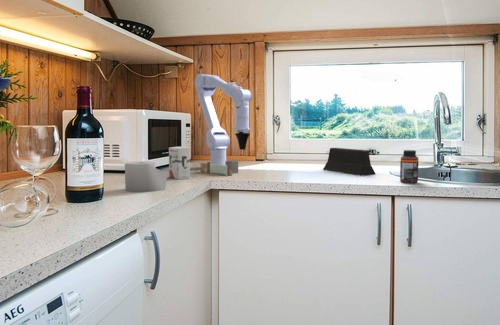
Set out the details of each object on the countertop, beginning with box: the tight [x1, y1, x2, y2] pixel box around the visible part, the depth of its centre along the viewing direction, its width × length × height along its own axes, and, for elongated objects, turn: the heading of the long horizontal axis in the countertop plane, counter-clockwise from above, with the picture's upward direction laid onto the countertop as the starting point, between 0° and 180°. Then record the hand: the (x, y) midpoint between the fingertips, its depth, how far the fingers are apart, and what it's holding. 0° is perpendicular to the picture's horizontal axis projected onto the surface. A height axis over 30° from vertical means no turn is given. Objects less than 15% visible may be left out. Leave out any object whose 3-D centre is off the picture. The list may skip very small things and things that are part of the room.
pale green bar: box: [210, 164, 227, 175], centre depth 175 cm, size 10×2×4 cm, turn 46°
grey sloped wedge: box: [124, 161, 169, 193], centre depth 136 cm, size 9×13×9 cm
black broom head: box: [322, 147, 376, 176], centre depth 181 cm, size 24×9×10 cm, turn 29°
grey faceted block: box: [225, 160, 239, 175], centre depth 178 cm, size 4×6×5 cm, turn 136°
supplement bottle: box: [399, 149, 419, 184], centre depth 150 cm, size 6×6×11 cm
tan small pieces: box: [199, 161, 233, 177], centre depth 176 cm, size 18×1×4 cm, turn 46°
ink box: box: [168, 146, 191, 180], centre depth 163 cm, size 9×5×12 cm, turn 37°
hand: (242, 149), depth 183 cm, fingers closed
